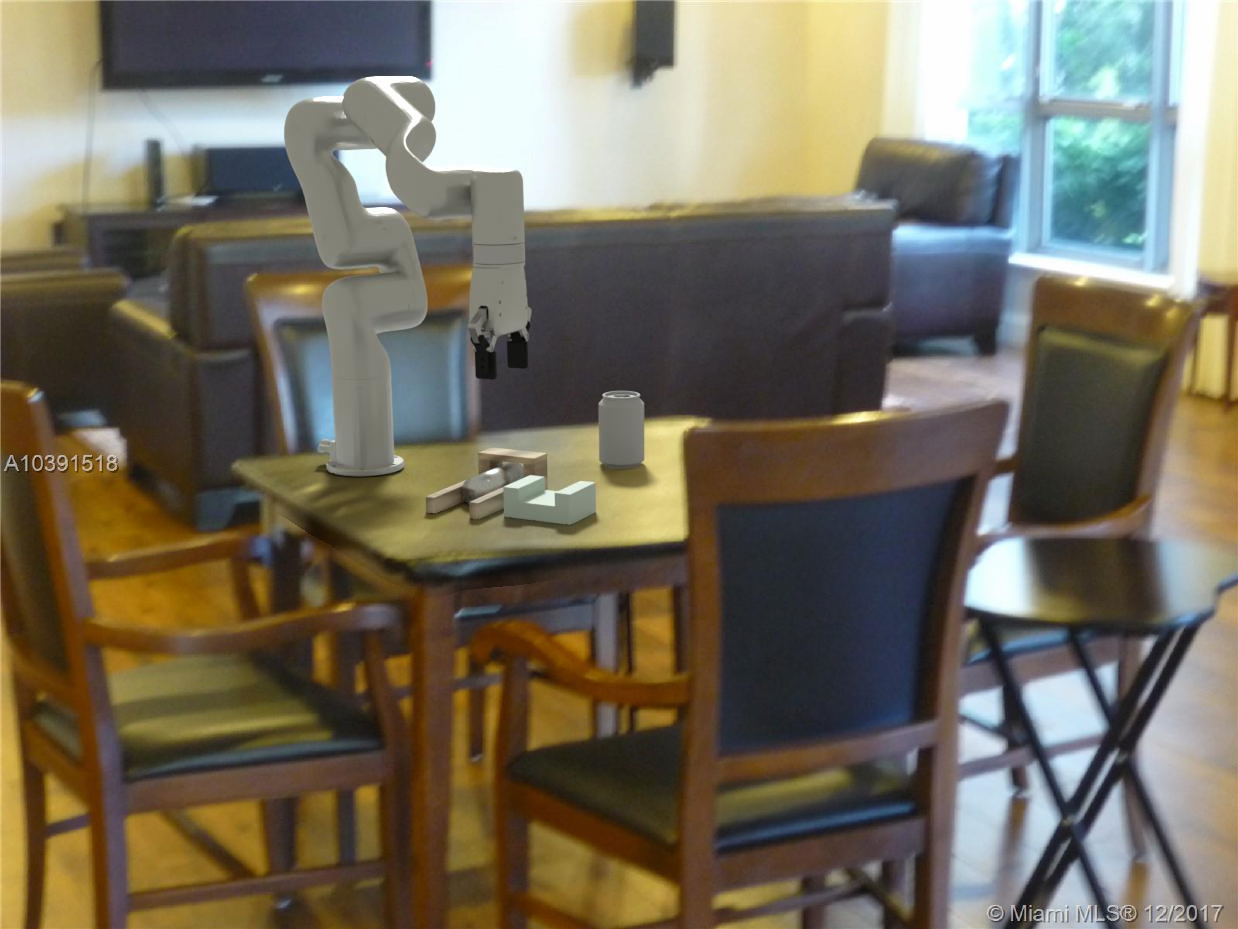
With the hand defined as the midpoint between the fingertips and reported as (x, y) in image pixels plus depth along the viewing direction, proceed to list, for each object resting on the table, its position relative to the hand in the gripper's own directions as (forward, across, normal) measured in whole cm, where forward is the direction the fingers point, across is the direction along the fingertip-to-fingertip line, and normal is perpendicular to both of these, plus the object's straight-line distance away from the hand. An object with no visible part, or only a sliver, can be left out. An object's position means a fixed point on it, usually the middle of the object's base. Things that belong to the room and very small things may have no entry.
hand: (502, 373), depth 249 cm
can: (+21, -33, +4) cm, 39 cm away
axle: (+21, -7, -5) cm, 22 cm away
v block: (+21, 0, +7) cm, 22 cm away
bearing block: (+20, -4, -5) cm, 21 cm away
